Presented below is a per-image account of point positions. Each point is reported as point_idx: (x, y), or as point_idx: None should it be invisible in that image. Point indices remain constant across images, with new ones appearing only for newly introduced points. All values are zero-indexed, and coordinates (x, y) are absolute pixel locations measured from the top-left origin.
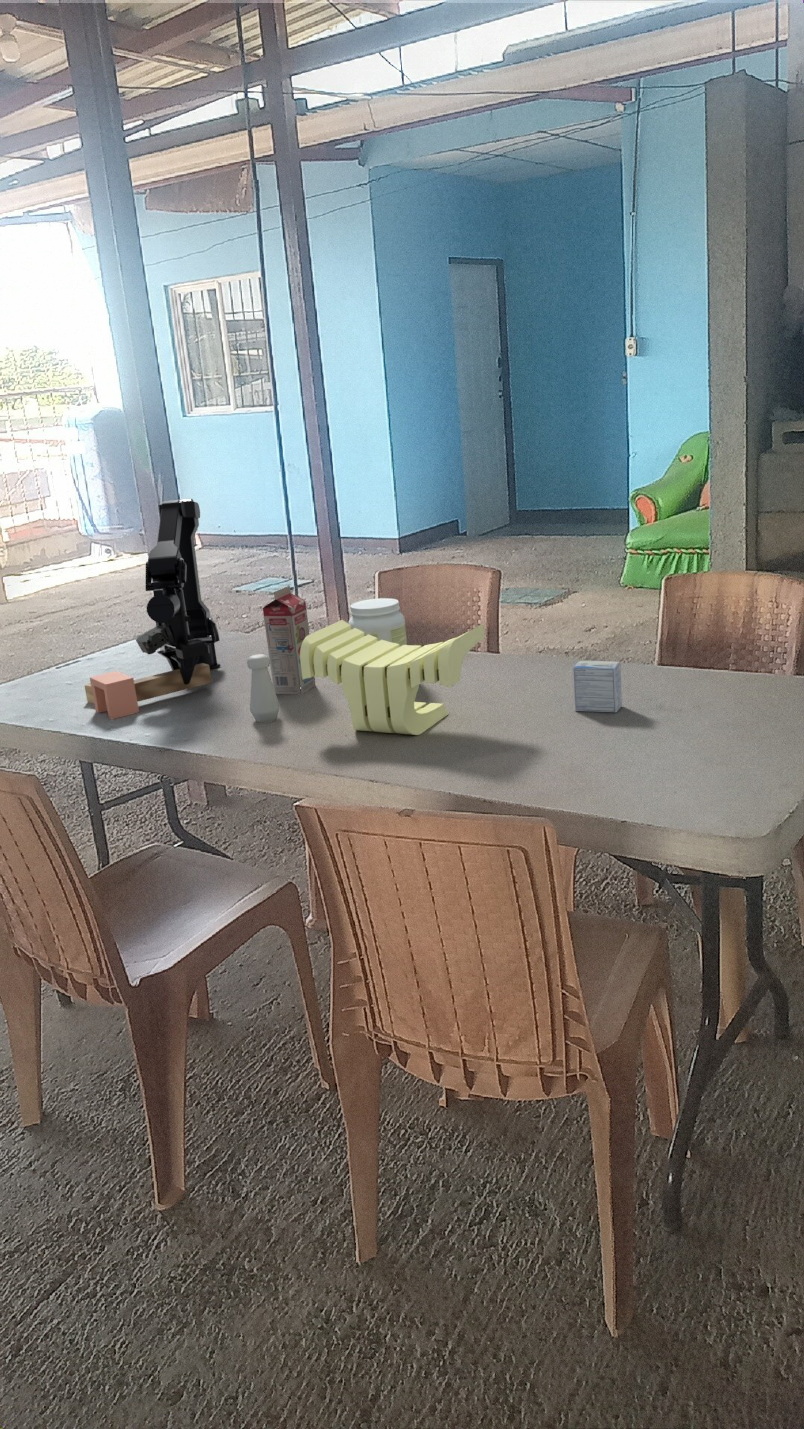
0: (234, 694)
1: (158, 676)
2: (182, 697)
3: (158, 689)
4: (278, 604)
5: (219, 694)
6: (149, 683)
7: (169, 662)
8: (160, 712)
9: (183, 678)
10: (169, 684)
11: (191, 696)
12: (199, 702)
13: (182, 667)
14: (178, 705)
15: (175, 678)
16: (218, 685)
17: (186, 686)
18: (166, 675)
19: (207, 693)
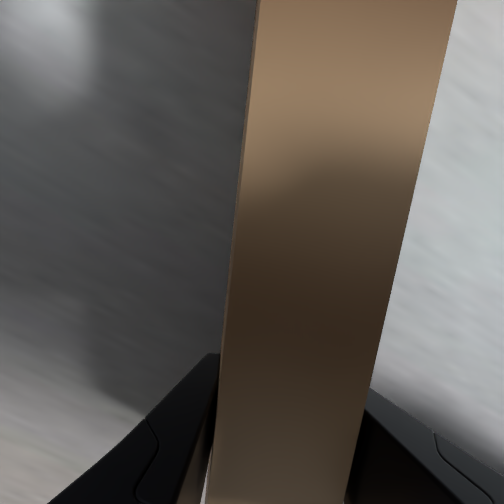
0: (9, 462)
1: (301, 172)
2: (217, 288)
3: (243, 138)
4: None
5: (81, 423)
6: (258, 9)
7: (488, 485)
8: (26, 14)
9: (192, 374)
10: (232, 246)
11: (187, 325)
12: (27, 287)
13: (99, 471)
14: (79, 182)
15: (225, 322)
16: None
17: (220, 353)
18: (244, 254)
19: (159, 399)
